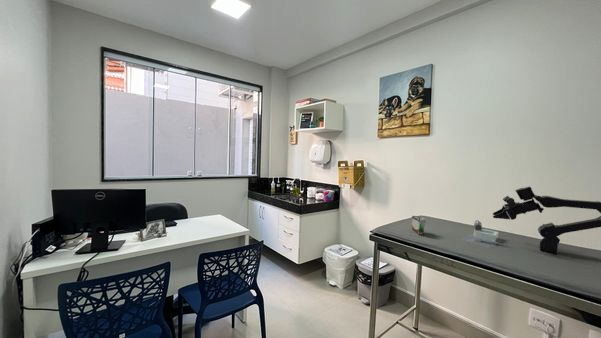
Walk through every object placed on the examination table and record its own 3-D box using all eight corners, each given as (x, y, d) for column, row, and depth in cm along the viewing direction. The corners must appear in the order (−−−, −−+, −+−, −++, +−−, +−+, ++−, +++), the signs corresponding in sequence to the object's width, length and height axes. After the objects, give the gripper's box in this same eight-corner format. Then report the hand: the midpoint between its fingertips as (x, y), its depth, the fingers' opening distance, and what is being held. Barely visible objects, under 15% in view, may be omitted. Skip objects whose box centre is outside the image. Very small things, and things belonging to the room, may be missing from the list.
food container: (429, 236, 156) (430, 220, 155) (419, 235, 156) (420, 220, 155) (420, 230, 168) (420, 215, 168) (411, 229, 168) (411, 215, 168)
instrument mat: (505, 240, 151) (505, 239, 151) (488, 248, 137) (488, 247, 137) (476, 232, 164) (476, 232, 164) (457, 239, 150) (457, 239, 150)
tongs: (479, 240, 149) (480, 220, 148) (480, 242, 146) (481, 222, 145) (473, 239, 150) (474, 219, 150) (474, 241, 147) (475, 221, 146)
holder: (497, 238, 153) (498, 231, 153) (495, 242, 146) (495, 235, 146) (478, 234, 160) (478, 228, 160) (475, 237, 153) (475, 231, 153)
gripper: (515, 192, 149) (486, 200, 157) (518, 196, 134) (486, 205, 143) (525, 209, 146) (495, 217, 155) (530, 215, 131) (496, 223, 140)
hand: (493, 215), depth 148 cm, fingers open, 9 cm apart
